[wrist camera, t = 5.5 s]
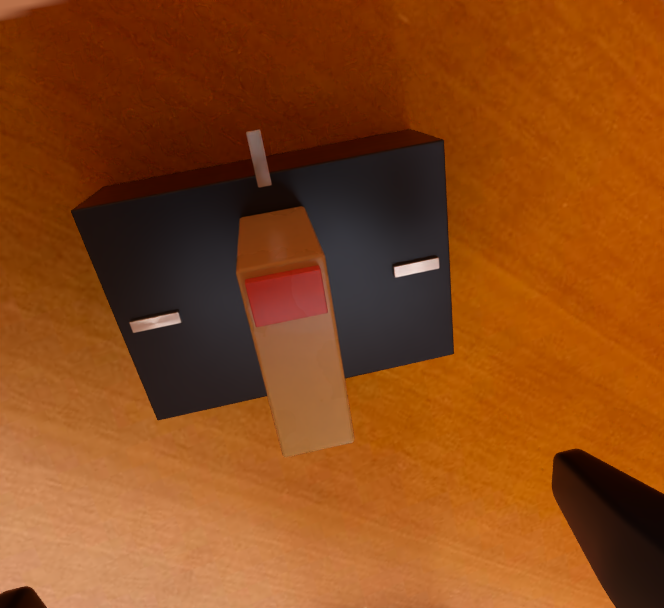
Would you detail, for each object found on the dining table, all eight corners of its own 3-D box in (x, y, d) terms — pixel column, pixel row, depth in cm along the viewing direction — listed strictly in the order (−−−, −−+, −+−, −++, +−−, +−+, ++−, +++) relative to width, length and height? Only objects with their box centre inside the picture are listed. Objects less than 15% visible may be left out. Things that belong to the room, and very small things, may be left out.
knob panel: (179, 393, 18) (166, 450, 16) (88, 150, 14) (48, 168, 11) (426, 338, 19) (457, 383, 16) (408, 92, 15) (444, 95, 12)
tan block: (330, 357, 15) (357, 450, 11) (275, 368, 15) (284, 466, 11) (304, 205, 13) (326, 257, 9) (238, 217, 13) (234, 275, 9)
